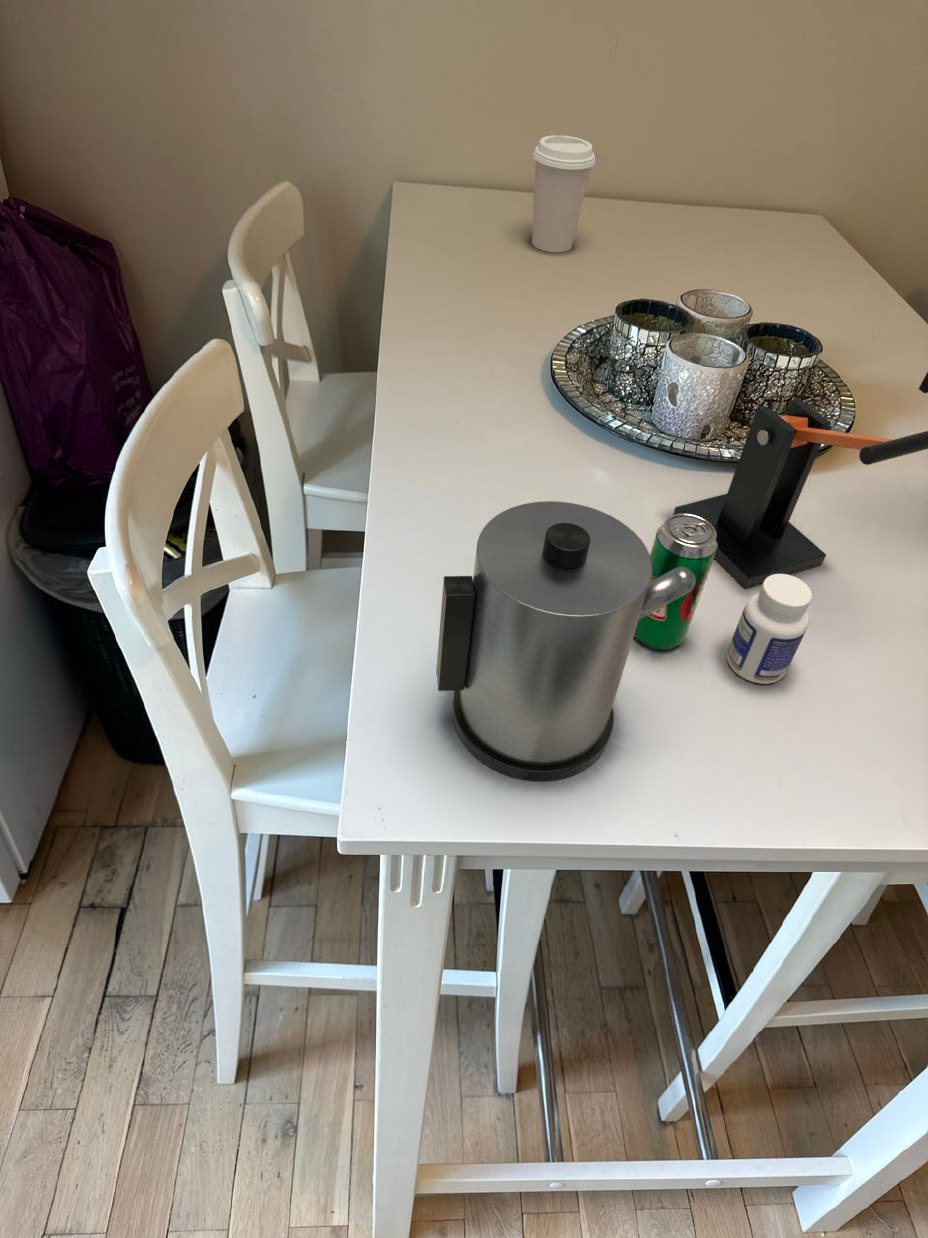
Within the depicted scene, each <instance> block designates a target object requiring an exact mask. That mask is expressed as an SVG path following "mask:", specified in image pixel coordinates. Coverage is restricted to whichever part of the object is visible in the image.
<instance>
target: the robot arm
mask: <svg viewBox="0 0 928 1238" xmlns="http://www.w3.org/2000/svg"><path fill="white" fill-rule="evenodd" d="M918 391H920V392H922V393H923V394H928V371H927V372H926V374H925V375H924V377H923V380H922V381H921V383H920V385H919V386H918Z"/></svg>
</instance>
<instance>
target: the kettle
mask: <svg viewBox="0 0 928 1238" xmlns="http://www.w3.org/2000/svg"><path fill="white" fill-rule="evenodd" d="M475 549H476V550H475V557H474V558H475V559H474V566H473V567H474V568H473V576H472V575H444V576H443V584H442V597H441V606H440V607H441V609H440V621H439V635H438V645H437V658H436V671H435V672H436V673H435V675H436V682H437V683H436V684H437V691H438V692H452V691H453V699H452V721H453V726H454V728H455V731H456V733H457V736H458V737H459V739H460V741H461V742H462V743H463V745H464V746H465V748H466V749H467V750H468V751H469V752H470V753H471V755H473V757H475V758H476V759H478V760H479V762H481V763H482V764H484V765H485V766H487V767H489V768H490V769H492V770H494V771H496V772H498V773H500V774H503V775H505V776H509V777H511V778H515V779H519V780H525V781H532V782H533V781H534V782H547V781H558V780H561V779H566V778H569V777H572V776H574V775H576V774H579V773H581V772H583V771H585V770H586V769H588V768H589V767H590V766H592V765H593V764H594V763H595V762H596V761H597V760H599V758H600V757H601V755H602V754H603V753H604V752H605V751H606V748H607V746H608V744H609V741H610V738H611V735H612V733H613V728H614V721H615V719H614V709H613V706H614V702H615V699H616V696H617V692H618V689H619V686H620V684H621V679H622V677H623V674H624V673H623V672H624V671H625V667H626V664H627V663H626V662H627V661H628V660H627V659H628V656H629V653H630V649H631V646H632V643H633V640H634V637H635V635H634V633H635V630H636V627H637V623H638V620H639V619H641V618H643V617H645V616H646V615H648V614H650V613H652V612H654V611H656V610H658V609H659V608H661V607H663V606H665V605H667V604H669V603H671V602H672V601H674V600H676V599H678V598H680V597H682V596H684V595H685V594H687V593H689V592H690V591H691V590H692V589H693V588H694V586H695V576H694V574H693V572H692V571H691V570H690V569H688V568H685V567H677V568H674V569H673V570H671V571H669V572H667V573H665V574H664V575H662V576H660V577H658V578H656V579H654V580H653V581H651V582H650V580H651V577H652V561H651V558H650V552H649V550H648V548H647V546H646V545H645V543H644V541H643V540H642V539H641V538H640V536H638V535H637V533H636V532H634V530H633V529H631V528H630V527H629V526H628V525H626V523H623V522H622V521H621V520H619V519H617V518H616V517H613V516H612V515H610V514H608V513H605V512H604V511H601V510H599V509H596V508H593V507H590V506H587V505H582V504H578V503H574V502H566V501H555V500H554V501H553V500H551V501H550V500H546V501H534V502H527V503H523V504H518V505H516V506H513V507H510V508H508V509H505V510H503V511H501V512H500V513H498V514H496V515H495V516H494V517H493V518H491V519H490V520H489V521H488V522H487V523H486V525H485V526H484V527H483V528H482V530H481V531H480V533H479V535H478V539H477V543H476V548H475Z"/></svg>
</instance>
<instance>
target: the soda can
mask: <svg viewBox="0 0 928 1238" xmlns="http://www.w3.org/2000/svg"><path fill="white" fill-rule="evenodd" d="M716 537H717V534H716V530H715V528H714V527H713V525H712V524H711V523H709V522H708V521H707V520H705V519H703V518H701V517H699V516H696V515H692V514H675V515H673V514H672V515H669V516H668V517H667V518H666V519H665V520H664V522H663V524H661V525H660V526H659V527H658V528H657V530H656V533H655V537H654V539H653V542H652V547H651V550H650V552H649V554H650V558H651V561H652V577H651V580H650V582H651V581H653V580H654V579H656V578H658V577H660V576H662V575H664V574H665V573H667V572H669V571H671V570H673V569H674V568H677V567H685V568H688V569H690V570H691V571H692V572H693V574H694V576H695V586H694V588H693V589H692V590H691V591H690V592H689V593H687V594H685V595H684V596H682V597H680V598H678V599H676V600H674V601H672V602H671V603H669V604H667V605H665V606H663V607H661V608H659V609H658V610H656V611H654V612H652V613H650V614H648V615H646V616H645V617H643V618H641V619H639V620H638V623H637V627H636V630H635V633H634V637H635V638H636V639H637V640H638V641H639V642H640V643H641V644H643V645H645V646H647V647H649V648H652V649H655V650H668V649H669V650H670V649H673V648H676V647H678V646H680V645H681V644H683V643H684V641H685V640H686V637H687V634H688V631H689V629H690V626H691V623H692V621H693V618H694V616H695V612H696V610H697V607H698V604H699V601H700V598H701V595H702V593H703V590H704V587H705V585H706V582H707V579H708V576H709V573H710V571H711V567H712V566H713V565H712V564H713V562H714V560H715V559H714V557H715V554H716V551H717V548H718V544H717V540H716Z"/></svg>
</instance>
